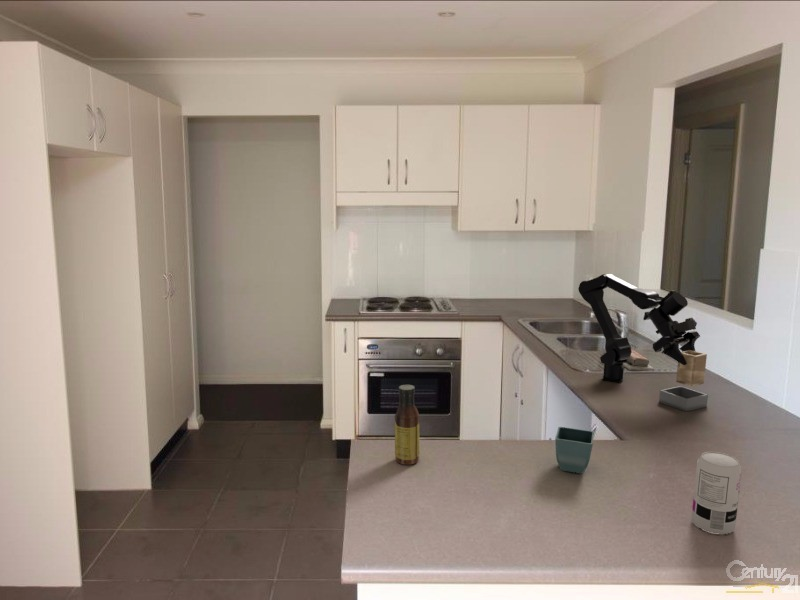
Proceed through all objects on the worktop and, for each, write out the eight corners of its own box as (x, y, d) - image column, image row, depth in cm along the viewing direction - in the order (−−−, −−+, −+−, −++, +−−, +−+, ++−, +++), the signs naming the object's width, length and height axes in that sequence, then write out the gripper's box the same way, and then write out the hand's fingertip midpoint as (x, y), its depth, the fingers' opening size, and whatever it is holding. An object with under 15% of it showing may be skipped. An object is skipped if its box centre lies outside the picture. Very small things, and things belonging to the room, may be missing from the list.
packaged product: (611, 347, 261) (635, 347, 262) (610, 358, 262) (634, 358, 263) (630, 359, 243) (655, 359, 244) (629, 371, 244) (654, 371, 245)
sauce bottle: (407, 453, 165) (408, 380, 162) (424, 461, 161) (426, 386, 157) (388, 461, 161) (389, 386, 157) (406, 468, 156) (407, 392, 153)
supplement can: (683, 516, 135) (690, 450, 133) (720, 515, 136) (727, 450, 133) (704, 537, 127) (712, 467, 125) (743, 536, 128) (751, 466, 125)
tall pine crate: (675, 381, 207) (678, 352, 205) (686, 378, 210) (689, 349, 208) (693, 386, 202) (696, 356, 200) (703, 383, 205) (706, 354, 204)
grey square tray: (658, 401, 208) (660, 390, 207) (679, 397, 213) (680, 385, 212) (685, 411, 199) (687, 399, 199) (706, 406, 204) (708, 394, 203)
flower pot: (591, 464, 160) (594, 430, 159) (590, 479, 152) (592, 443, 151) (556, 458, 163) (558, 426, 162) (553, 473, 155) (555, 438, 153)
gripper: (663, 312, 201) (692, 354, 194) (697, 307, 211) (726, 346, 204) (640, 331, 209) (667, 372, 202) (674, 325, 219) (700, 364, 212)
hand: (691, 363), depth 205 cm, fingers closed on tall pine crate, 6 cm apart
